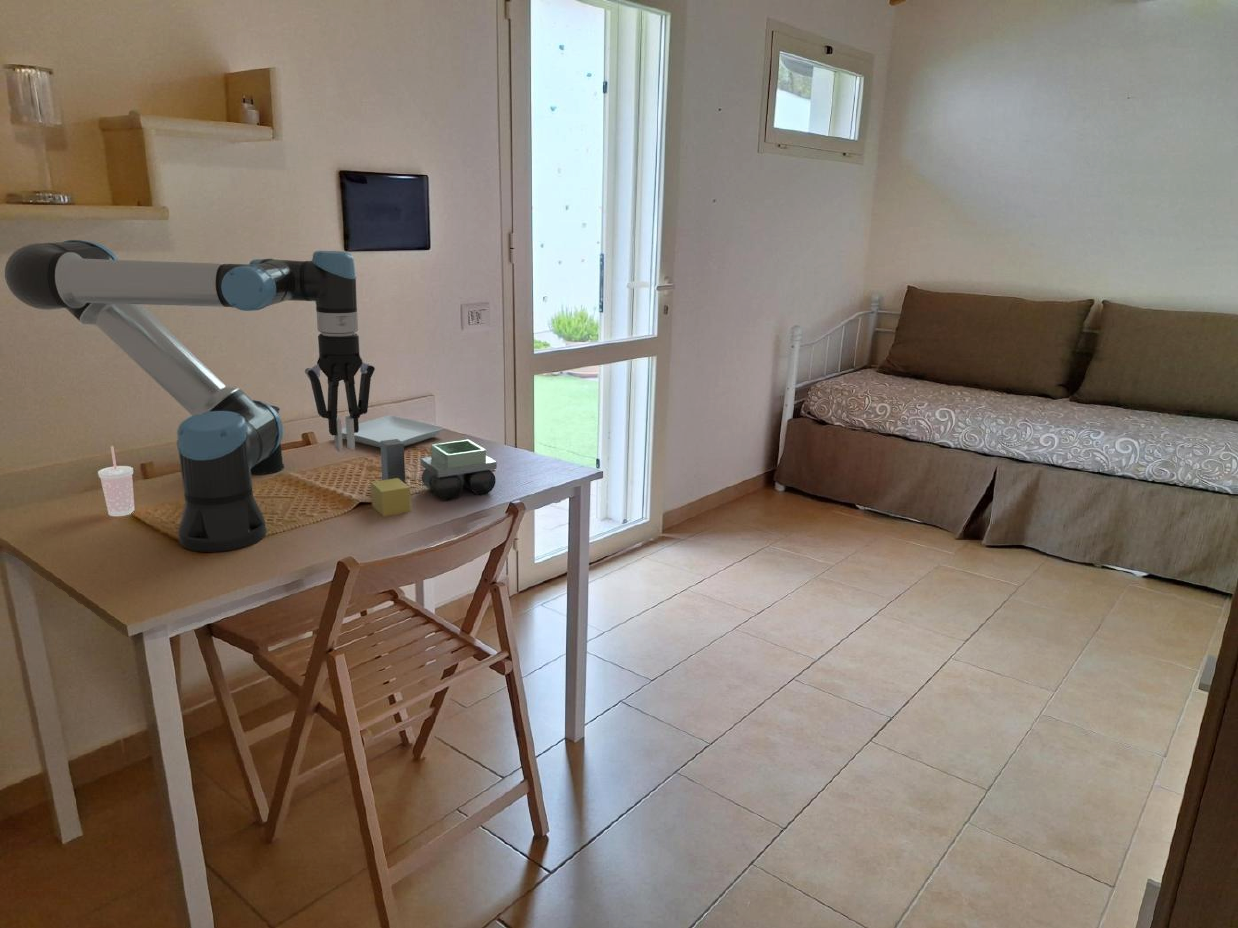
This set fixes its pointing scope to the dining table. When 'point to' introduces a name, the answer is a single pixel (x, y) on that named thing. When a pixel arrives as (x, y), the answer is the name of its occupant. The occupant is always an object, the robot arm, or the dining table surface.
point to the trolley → (458, 469)
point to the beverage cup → (118, 488)
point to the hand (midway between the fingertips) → (345, 448)
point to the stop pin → (392, 459)
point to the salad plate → (394, 431)
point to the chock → (390, 496)
